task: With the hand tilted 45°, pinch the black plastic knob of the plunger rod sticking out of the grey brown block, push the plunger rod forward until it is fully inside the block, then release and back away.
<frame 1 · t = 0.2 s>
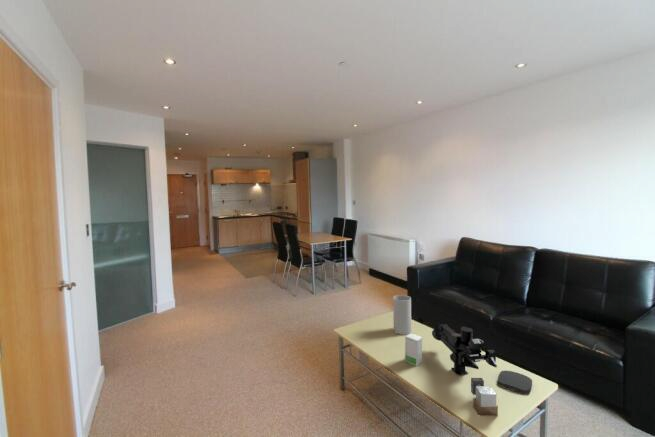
hand: (487, 367, 150), 17 cm above the table, tool horizontal, fingers open, 9 cm apart
cylinder vase: (402, 331, 230), on the table
skincare box: (413, 362, 188), on the table
media streaming box: (514, 384, 164), on the table
plunger: (479, 389, 150), point 6 cm above the table, slide at 0.0 cm
grey brown block: (485, 411, 144), on the table
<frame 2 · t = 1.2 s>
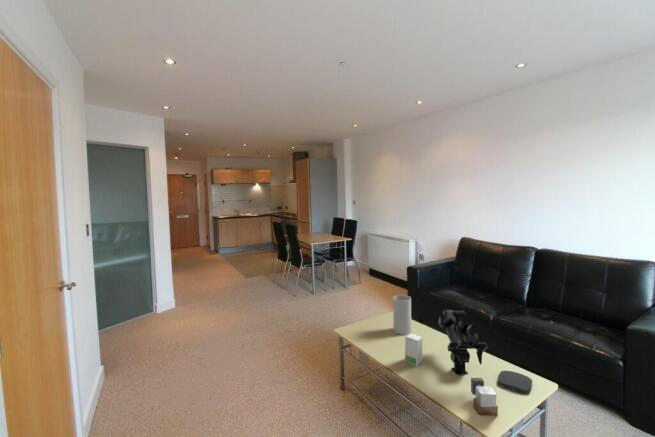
hand: (471, 364, 159), 13 cm above the table, tool tilted 45°, fingers open, 9 cm apart
nothing on the table moved.
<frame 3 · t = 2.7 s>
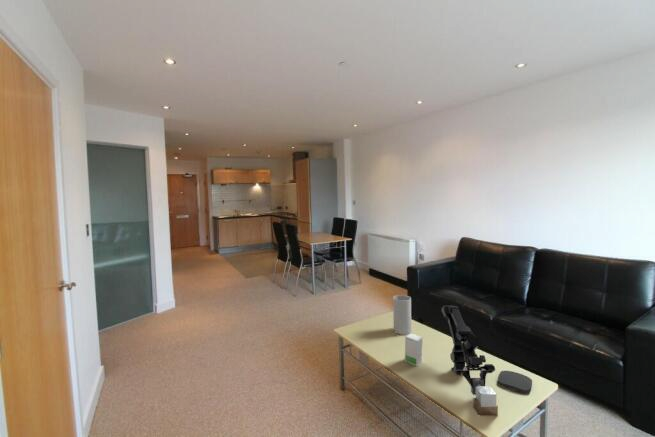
hand: (478, 387, 151), 7 cm above the table, tool tilted 45°, fingers closed on plunger, 5 cm apart
plunger: (479, 389, 150), point 6 cm above the table, slide at 0.0 cm, touching gripper
everything else where it was.
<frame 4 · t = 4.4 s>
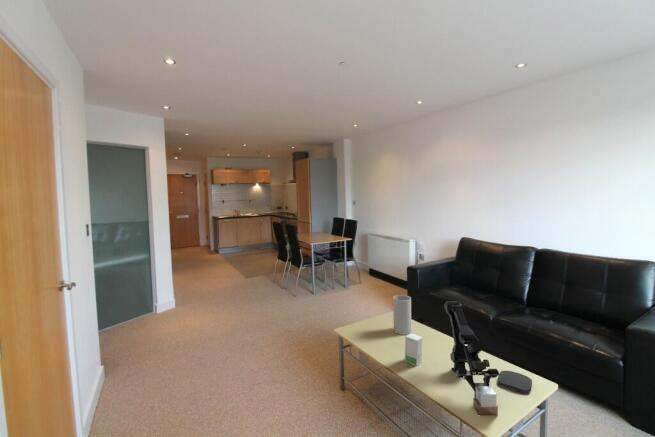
hand: (482, 393, 147), 7 cm above the table, tool tilted 45°, fingers closed on plunger, 5 cm apart
plunger: (483, 395, 146), point 6 cm above the table, slide at 4.0 cm, touching gripper
everything else where it was.
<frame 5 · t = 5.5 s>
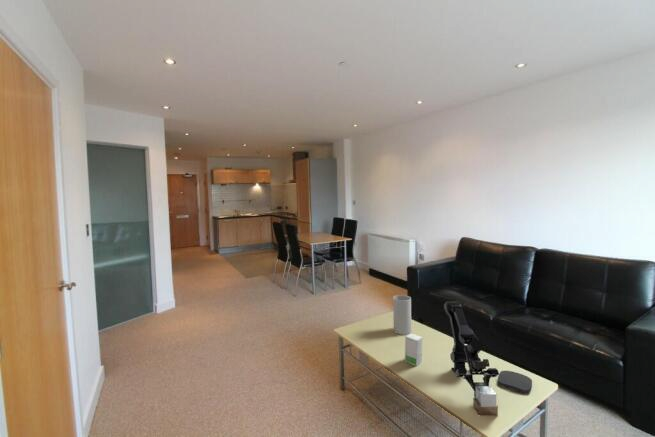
hand: (481, 392, 147), 7 cm above the table, tool tilted 45°, fingers open, 5 cm apart
plunger: (483, 394, 146), point 6 cm above the table, slide at 3.7 cm
everything else where it was.
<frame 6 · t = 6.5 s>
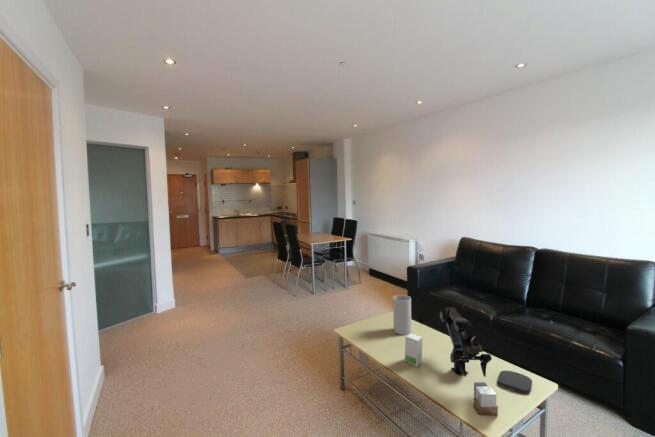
hand: (475, 376, 155), 10 cm above the table, tool tilted 45°, fingers open, 9 cm apart
nothing on the table moved.
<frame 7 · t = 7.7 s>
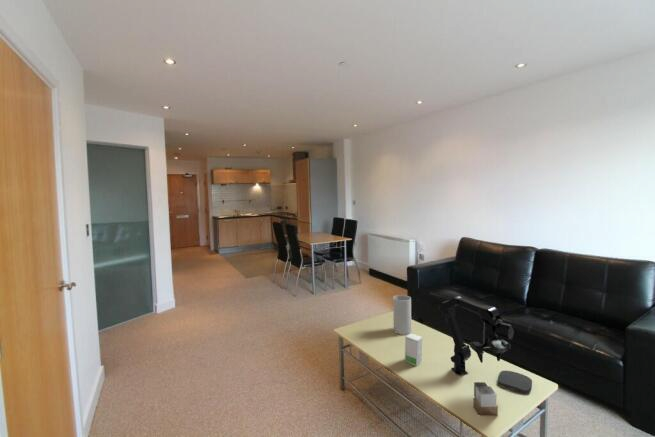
hand: (489, 361, 162), 13 cm above the table, tool pointing down, fingers open, 9 cm apart
nothing on the table moved.
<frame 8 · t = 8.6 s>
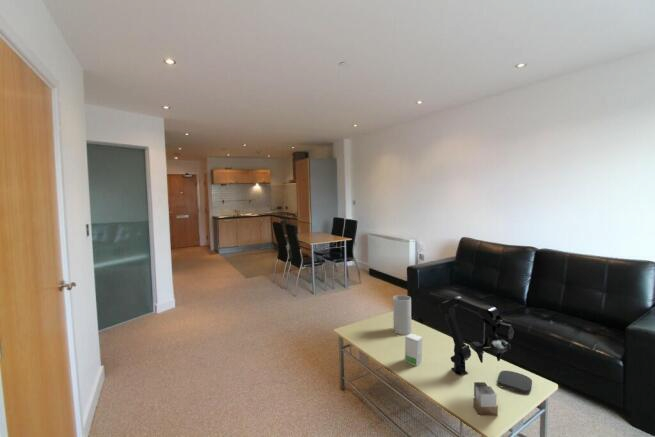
hand: (489, 361, 162), 13 cm above the table, tool pointing down, fingers open, 9 cm apart
nothing on the table moved.
at the end: plunger slide at 3.7 cm; the gripper is holding nothing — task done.
